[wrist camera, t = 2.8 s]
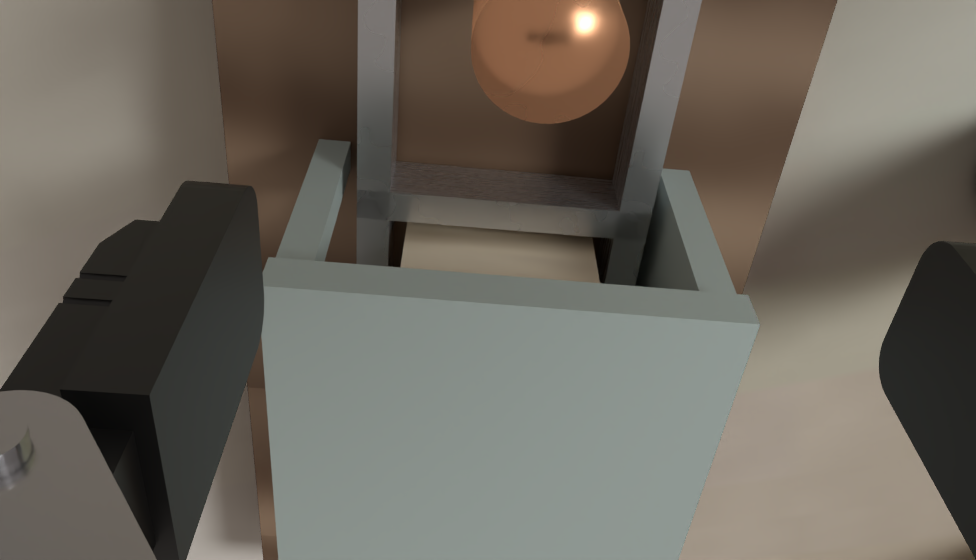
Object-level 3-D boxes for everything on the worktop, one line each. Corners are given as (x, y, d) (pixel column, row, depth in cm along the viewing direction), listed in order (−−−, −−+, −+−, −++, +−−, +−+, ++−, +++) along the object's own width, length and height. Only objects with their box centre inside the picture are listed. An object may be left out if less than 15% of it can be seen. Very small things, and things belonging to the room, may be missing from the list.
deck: (211, -377, 23) (177, -382, 20) (887, -301, 23) (933, -296, 21) (277, 524, 43) (264, 576, 41) (634, 547, 44) (642, 599, 42)
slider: (368, -147, 23) (308, -55, 15) (707, -112, 23) (807, -7, 16) (362, 373, 33) (325, 576, 26) (596, 390, 34) (624, 595, 26)
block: (410, 200, 29) (397, 289, 25) (588, 215, 29) (603, 304, 25) (404, 339, 32) (391, 436, 28) (563, 351, 33) (573, 449, 29)
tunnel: (318, 124, 27) (257, 285, 20) (692, 157, 28) (760, 324, 21) (324, 383, 34) (279, 574, 27) (629, 405, 34) (664, 598, 27)
